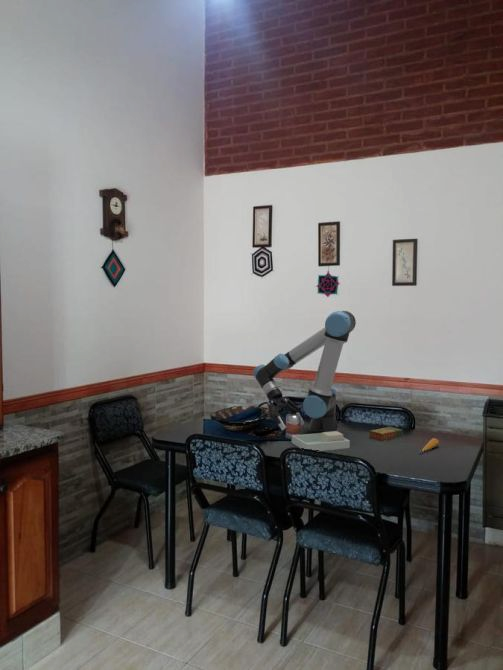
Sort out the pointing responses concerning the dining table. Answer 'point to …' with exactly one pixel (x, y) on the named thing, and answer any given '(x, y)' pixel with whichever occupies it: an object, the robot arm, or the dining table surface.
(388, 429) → the carton
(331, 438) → the beige rectangular block
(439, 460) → the dining table surface
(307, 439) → the tote
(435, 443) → the carrot
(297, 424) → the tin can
